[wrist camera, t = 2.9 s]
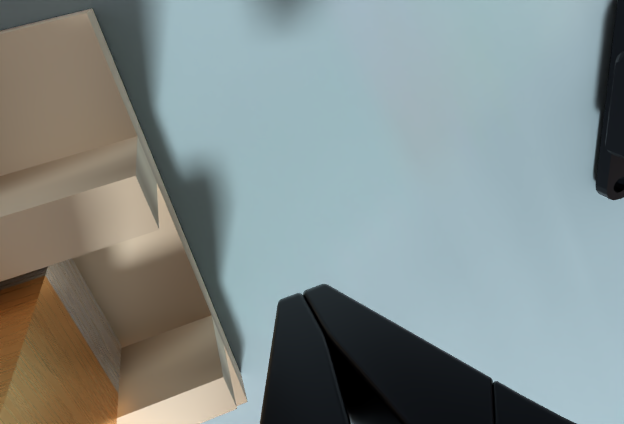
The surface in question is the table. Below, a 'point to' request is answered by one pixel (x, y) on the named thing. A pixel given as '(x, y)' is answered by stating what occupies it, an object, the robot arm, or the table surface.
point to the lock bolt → (56, 351)
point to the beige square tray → (106, 219)
